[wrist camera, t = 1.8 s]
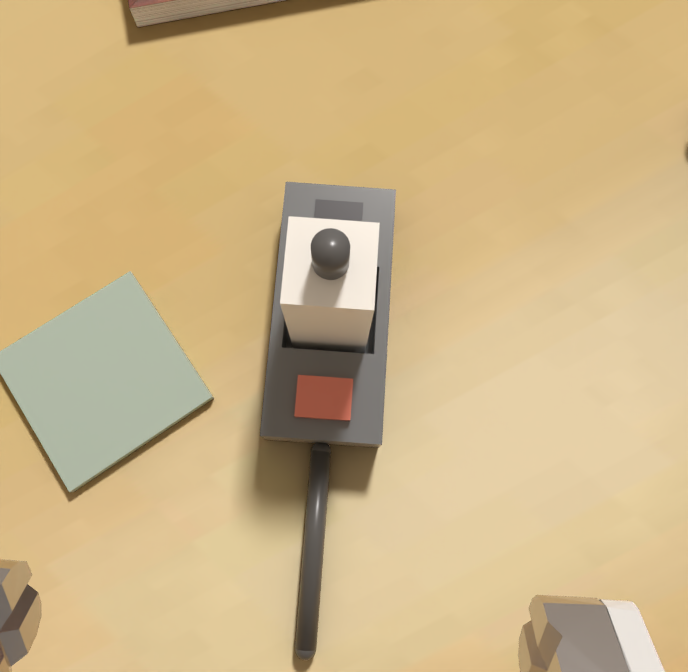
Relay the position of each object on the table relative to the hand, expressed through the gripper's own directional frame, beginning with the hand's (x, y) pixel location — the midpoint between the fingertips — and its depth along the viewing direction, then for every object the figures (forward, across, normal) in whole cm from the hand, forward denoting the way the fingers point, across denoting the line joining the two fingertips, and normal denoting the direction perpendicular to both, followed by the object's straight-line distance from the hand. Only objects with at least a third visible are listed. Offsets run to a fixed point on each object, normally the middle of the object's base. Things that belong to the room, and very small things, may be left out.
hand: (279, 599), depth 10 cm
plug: (+28, 0, +11) cm, 30 cm away
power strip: (+24, 0, +15) cm, 28 cm away
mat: (+25, +14, +14) cm, 32 cm away
